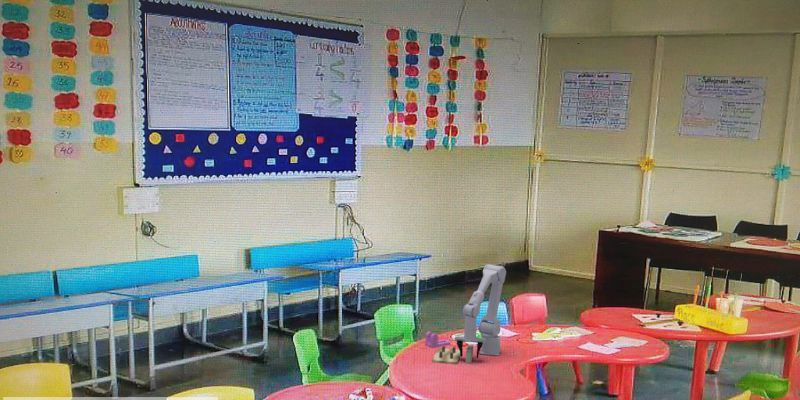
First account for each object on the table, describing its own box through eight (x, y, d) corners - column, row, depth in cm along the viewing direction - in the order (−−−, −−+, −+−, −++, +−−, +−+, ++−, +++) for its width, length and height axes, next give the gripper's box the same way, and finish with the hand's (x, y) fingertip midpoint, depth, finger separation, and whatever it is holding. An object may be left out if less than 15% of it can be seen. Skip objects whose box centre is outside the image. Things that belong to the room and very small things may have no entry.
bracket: (431, 348, 372) (432, 334, 372) (425, 345, 377) (425, 332, 376) (452, 344, 379) (452, 331, 379) (445, 341, 384) (446, 328, 383)
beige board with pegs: (462, 351, 367) (462, 344, 367) (457, 364, 347) (457, 357, 347) (438, 349, 369) (438, 342, 369) (432, 362, 350) (432, 354, 349)
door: (472, 357, 359) (473, 345, 358) (470, 363, 349) (471, 351, 349) (468, 356, 359) (468, 344, 359) (465, 363, 350) (466, 350, 349)
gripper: (454, 330, 350) (453, 357, 352) (484, 332, 347) (483, 360, 349) (456, 326, 357) (455, 353, 358) (486, 328, 354) (485, 356, 356)
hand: (469, 356), depth 354 cm, fingers open, 7 cm apart
